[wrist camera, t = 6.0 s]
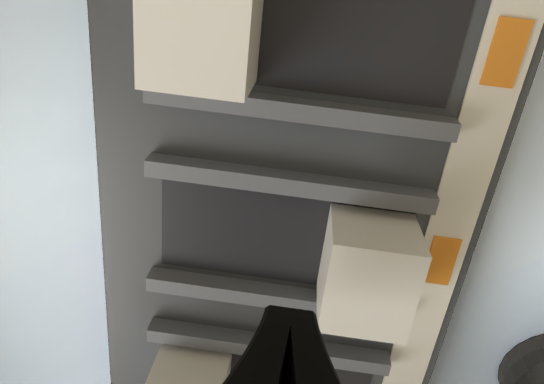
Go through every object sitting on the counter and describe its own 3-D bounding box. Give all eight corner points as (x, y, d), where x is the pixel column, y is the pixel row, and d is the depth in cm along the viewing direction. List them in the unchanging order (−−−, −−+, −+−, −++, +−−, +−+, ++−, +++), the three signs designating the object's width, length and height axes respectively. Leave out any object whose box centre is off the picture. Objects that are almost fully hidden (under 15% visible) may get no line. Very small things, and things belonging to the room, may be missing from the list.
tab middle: (316, 282, 18) (316, 332, 16) (330, 202, 17) (333, 244, 14) (393, 293, 18) (405, 345, 16) (415, 214, 17) (432, 258, 14)
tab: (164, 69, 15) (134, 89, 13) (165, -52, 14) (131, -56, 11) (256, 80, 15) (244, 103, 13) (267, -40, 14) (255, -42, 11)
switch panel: (124, 380, 24) (105, 419, 22) (101, -104, 15) (66, -116, 13) (400, 421, 23) (408, 465, 21) (555, -53, 14) (595, -56, 12)
